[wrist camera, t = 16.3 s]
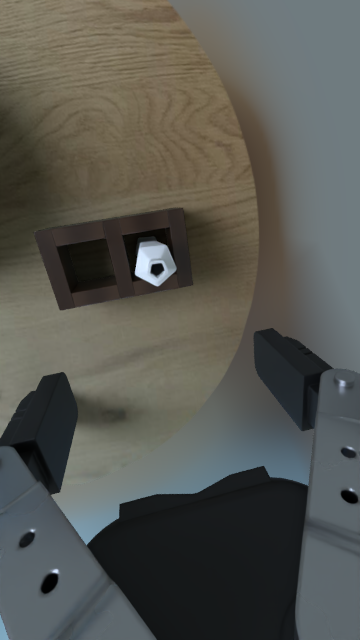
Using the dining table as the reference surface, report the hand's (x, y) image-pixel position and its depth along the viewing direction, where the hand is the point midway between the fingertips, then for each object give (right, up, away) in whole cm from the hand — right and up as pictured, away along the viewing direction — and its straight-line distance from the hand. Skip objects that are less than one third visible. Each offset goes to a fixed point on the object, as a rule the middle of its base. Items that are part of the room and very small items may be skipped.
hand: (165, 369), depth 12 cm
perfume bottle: (-4, +13, +30) cm, 33 cm away
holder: (-8, +12, +29) cm, 33 cm away
